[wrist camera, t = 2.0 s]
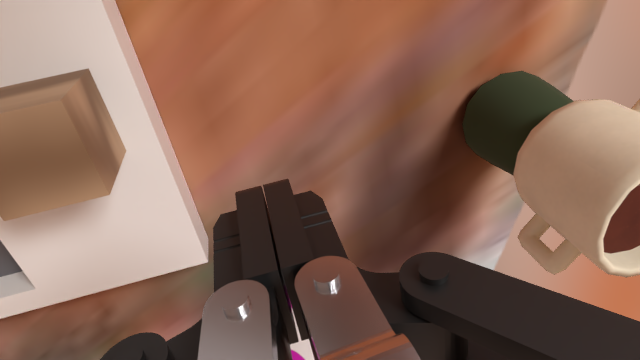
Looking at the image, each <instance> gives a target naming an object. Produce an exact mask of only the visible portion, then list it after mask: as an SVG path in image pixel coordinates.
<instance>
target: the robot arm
mask: <svg viewBox="0 0 640 360" xmlns="http://www.w3.org/2000/svg"><path fill="white" fill-rule="evenodd" d="M263 187H264V192H265V196H266V201H267V204H266V201H265V197H264V194H263V190H262V187H261V186H258V187H254V188H250V189H246V190H242V191H238V192H236V193H235V195H236V205H237V210H236V211H232V212H228V213H225V214H221V215H220V217H219V219H218V220H217V222H216V224H215V226H214V227H213V240H214V293H213V294H212V295H211V297H210V298H209V299H208V301H207V302H206V304H205V306H204V310H203V317H202V319H201V320H200V321H199V322H197V323H196V324H195V325H194V326H192V327H191V328H189V329H188V330H186V331H184V332H182V333H181V334H179V335H177V336H175V337H174V338H172V339H170V340H168V341H167V342H166V341H165V339H164V338H163V337H161V336H160V335H158V334H155V333H139V334H135V335H133V336H130V337H128V338H126V339H124V340H122V341H120V342H119V343H117V344H116V345H115V346H113V347H112V348H111V349H110V350H109V351H108V352H107V353H106V354H105V355H104V356H103V357H102V358H101V359H100V360H293V358H292V353H291V348H290V344H294V343H297V342H299V340H298V335H297V331H296V326H295V322H294V317H293V313H294V316H295V319H296V323H297V326H298V330H299V333H300V337H301V340H302V341H303V340H306V339H309V341H310V345H311V349H312V352H313V356H314V359H315V360H640V322H639V321H636V320H634V319H631V318H628V317H625V316H622V315H619V314H617V313H614V312H611V311H608V310H605V309H602V308H599V307H596V306H594V305H591V304H588V303H585V302H582V301H579V300H577V299H574V298H571V297H568V296H565V295H562V294H559V293H557V292H554V291H551V290H548V289H545V288H542V287H539V286H537V285H534V284H531V283H528V282H525V281H522V280H519V279H517V278H513V277H510V276H508V275H505V274H502V273H499V272H497V271H494V270H491V269H488V268H485V267H482V266H479V265H477V264H474V263H471V262H468V261H465V260H462V259H459V258H457V257H454V256H451V255H448V254H444V253H438V252H427V253H421V254H418V255H415V256H413V257H411V258H410V259H408V260H407V261H406V262H405V263H404V264H403V265H402V267H401V269H400V272H399V273H374V272H369V271H365V270H362V269H360V268H358V267H356V266H355V264H353V263H352V262H351V261H350V260H349V259H348V257H347V255H346V253H345V250H344V248H343V246H342V243H341V241H340V239H339V236H338V234H337V232H336V229H335V227H334V225H333V222H332V221H331V218H330V215H329V213H328V212H327V208H326V206H325V204H324V201H323V199H322V198H321V197H319V196H318V195H316V194H315V193H313V192H312V191H308V192H304V193H300V194H296V195H293V192H292V189H291V186H290V183H289V180H288V179H284V180H281V181H277V182H273V183H269V184H265V185H263ZM267 206H268V208H267ZM290 302H291V303H290ZM291 306H292V308H291ZM292 309H293V313H292Z"/></svg>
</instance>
